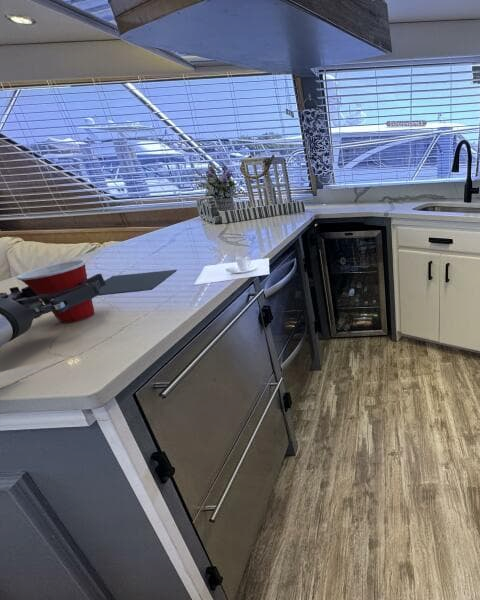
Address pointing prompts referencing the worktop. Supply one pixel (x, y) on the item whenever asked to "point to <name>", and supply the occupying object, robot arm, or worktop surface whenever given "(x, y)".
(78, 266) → the plastic cup
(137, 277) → the mat
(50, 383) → the worktop surface
